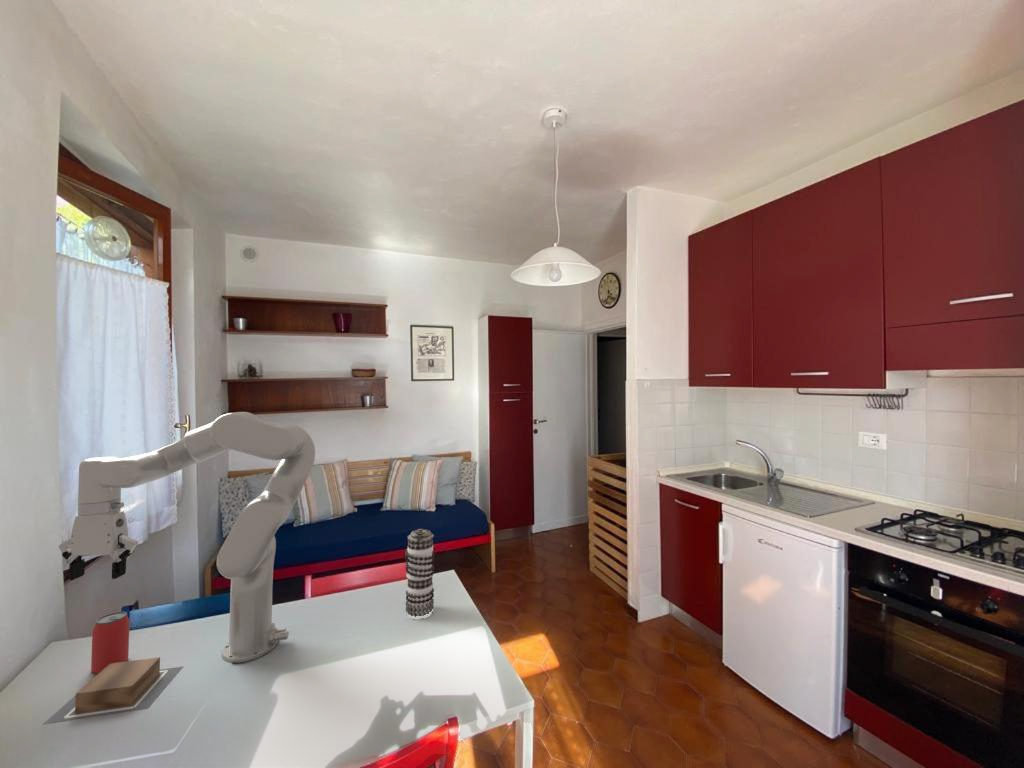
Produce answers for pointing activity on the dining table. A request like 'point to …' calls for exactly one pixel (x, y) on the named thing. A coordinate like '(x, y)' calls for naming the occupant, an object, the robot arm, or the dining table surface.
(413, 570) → the decorative candle
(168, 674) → the grey mat
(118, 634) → the beer can
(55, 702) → the dining table surface
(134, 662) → the walnut base block
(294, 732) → the dining table surface
